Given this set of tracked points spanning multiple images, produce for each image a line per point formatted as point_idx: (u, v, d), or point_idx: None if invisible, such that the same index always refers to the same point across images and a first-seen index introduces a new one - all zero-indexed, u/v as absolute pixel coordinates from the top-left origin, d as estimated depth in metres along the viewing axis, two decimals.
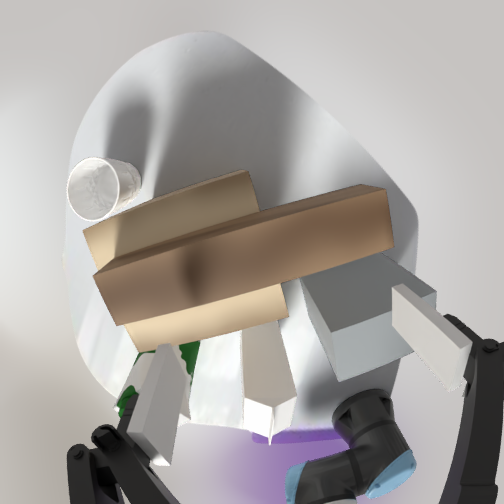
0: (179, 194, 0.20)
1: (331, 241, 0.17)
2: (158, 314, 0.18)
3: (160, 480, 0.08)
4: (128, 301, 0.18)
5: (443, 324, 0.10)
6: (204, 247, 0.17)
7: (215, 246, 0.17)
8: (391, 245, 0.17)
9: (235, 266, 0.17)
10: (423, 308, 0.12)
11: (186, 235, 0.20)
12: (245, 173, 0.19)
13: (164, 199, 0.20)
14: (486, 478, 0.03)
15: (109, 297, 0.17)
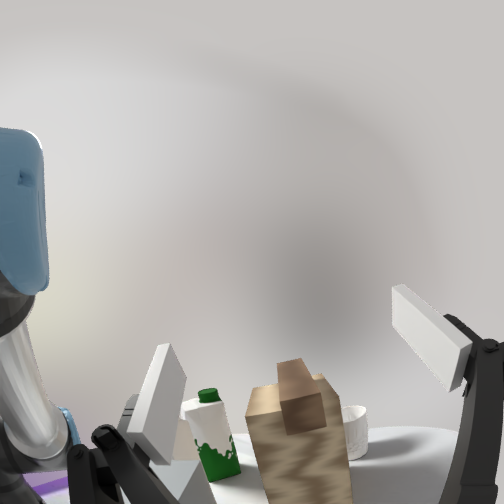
0: (330, 386, 0.36)
1: (294, 386, 0.28)
2: (278, 367, 0.40)
3: (160, 480, 0.08)
4: (287, 363, 0.42)
5: (443, 324, 0.10)
6: (303, 368, 0.35)
7: (303, 369, 0.35)
8: (281, 400, 0.24)
9: (291, 373, 0.34)
10: (423, 308, 0.12)
11: None
12: (337, 396, 0.31)
13: (329, 384, 0.37)
14: (486, 477, 0.03)
15: (290, 361, 0.43)
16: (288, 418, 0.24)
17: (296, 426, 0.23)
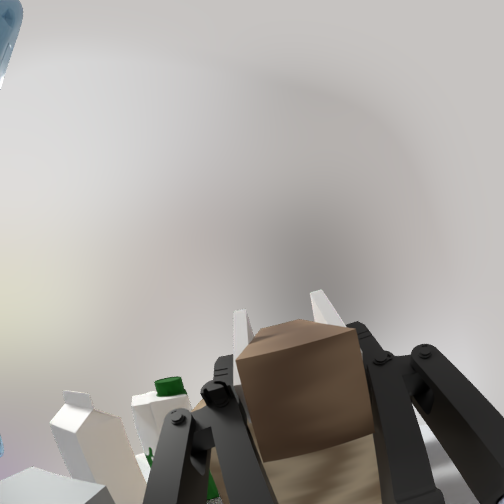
0: None
1: (282, 337, 0.13)
2: (260, 330, 0.25)
3: (254, 444, 0.10)
4: (276, 325, 0.26)
5: None
6: (304, 322, 0.20)
7: (303, 323, 0.19)
8: (241, 358, 0.09)
9: (281, 329, 0.19)
10: (329, 314, 0.14)
11: None
12: None
13: None
14: (423, 485, 0.04)
15: (282, 323, 0.27)
16: (264, 413, 0.08)
17: (289, 437, 0.08)
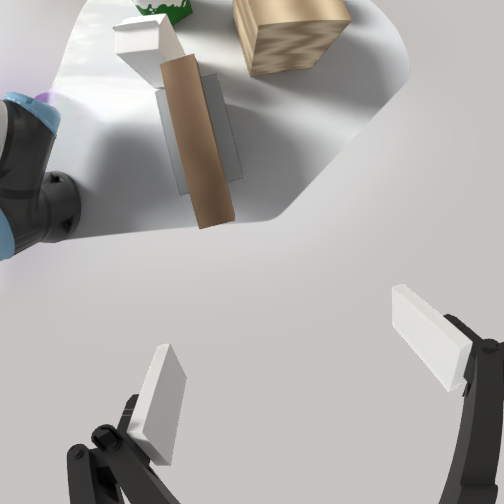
0: None
1: (204, 186, 0.30)
2: (165, 89, 0.26)
3: (160, 480, 0.08)
4: (175, 72, 0.26)
5: (443, 324, 0.10)
6: (204, 117, 0.28)
7: (204, 122, 0.28)
8: (200, 227, 0.31)
9: (192, 133, 0.28)
10: (423, 308, 0.12)
11: (208, 108, 0.30)
12: (350, 18, 0.24)
13: None
14: (486, 478, 0.03)
15: (178, 62, 0.25)
16: None
17: None
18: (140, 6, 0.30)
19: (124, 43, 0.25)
